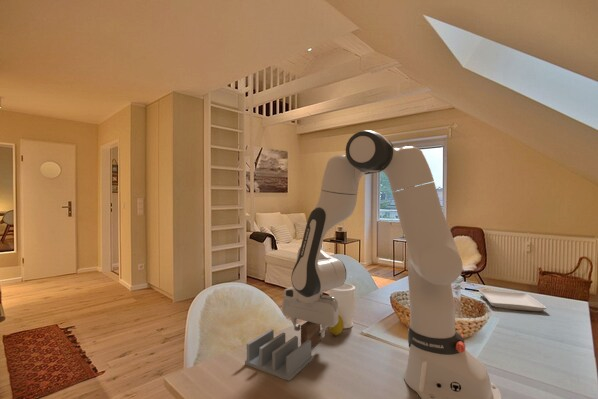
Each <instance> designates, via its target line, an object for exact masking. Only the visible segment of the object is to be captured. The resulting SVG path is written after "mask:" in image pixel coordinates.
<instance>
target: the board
mask: <svg viewBox="0 0 598 399" xmlns="http://www.w3.org/2000/svg"><path fill="white" fill-rule="evenodd" d="M320 330H321V325H320V324H316V323H312V322H308V321H305V322H304V323H303V324H302V325H301V324H300V346H301V345H302V344H303V343H305V342H306V341H307V340H311V348H312V347H313V346H314V347H315V346H316V345H317V344H319V343H320V342H321V337H319V336H318V335H319V334H318V332H319V331H320ZM314 347H313V348H314ZM313 348H312V349H313Z"/></svg>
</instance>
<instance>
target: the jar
mask: <svg viewBox="0 0 598 399" xmlns="http://www.w3.org/2000/svg"><path fill="white" fill-rule="evenodd" d="M355 291H356V286H355V285H354V284H350V283H345V282H344V284H343V285H342V286H339V287H337V288H334V289H331V290H329V294H328V296H329V297H330V296H331V297H334V299H336V300H337V302H338V309H337V310H338V315H340V316H341V317H342V320H343V325H344V326H343V330H344V329H345V330H346V329H351V328H352V327H353V326H354V322H353V320H354V318H355V317H354V316H355V310H356V304H357V303H356V293H355ZM334 301H335V300H334Z"/></svg>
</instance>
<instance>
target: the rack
mask: <svg viewBox="0 0 598 399" xmlns="http://www.w3.org/2000/svg"><path fill="white" fill-rule="evenodd" d="M274 336H275V335H274V329H272V328H271V329H269V330H267V331H266V332H264V333H262V334H261V335H259V336H258V337H255V338H254V339H252V340H250V341H249V342H248V343H246V360H245V361H244V365H245V366H247V367H248V366H249V367H251V368H253V369H256V370H259V371H262V372H264V373H267V374H269V375H272V376H274V377H277V378H280V379H282V380H285V381H287V382H290V381H291V380H292V379H293V378H294V377H296V375H298V374H299V373H300V372H301V371H302V370H303V369H304V368H305V367H306V366H307V365H309V364H310V363H311V362H312V361H313V360H314V356H313V355H312V349H311V340H307V341H306V342H305V343H303V344H302V345H301V344H300V346H299V336H298V335H297V336H296V335H295V336H293V337H291V339H289V340H286V332H281V333H280V334H279V335H276V336H275V337H274ZM308 363H309V364H308Z"/></svg>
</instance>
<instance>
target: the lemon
mask: <svg viewBox="0 0 598 399" xmlns="http://www.w3.org/2000/svg"><path fill="white" fill-rule="evenodd" d="M343 326H344V325H343V320H342V317H341V316H340V315H338V323H337V324H336V325H335V326H334V327H327V329H328V330H329V332H330V333H331V334H332V335H334V336H338V335H340V334H341V333H342V331H343V330H344V329H343Z"/></svg>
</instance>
